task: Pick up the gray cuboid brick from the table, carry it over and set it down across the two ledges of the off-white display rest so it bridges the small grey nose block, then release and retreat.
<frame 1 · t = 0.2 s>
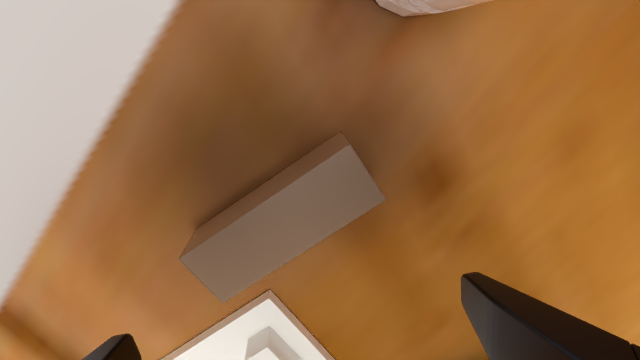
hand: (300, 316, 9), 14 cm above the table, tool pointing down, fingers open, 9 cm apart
gray cuboid brick: (283, 202, 23), on the table
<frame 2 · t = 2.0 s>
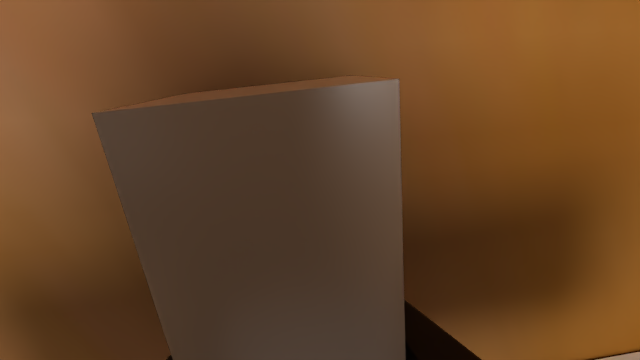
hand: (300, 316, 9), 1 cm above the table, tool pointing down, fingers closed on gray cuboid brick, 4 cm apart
gray cuboid brick: (300, 286, 10), on the table, touching gripper
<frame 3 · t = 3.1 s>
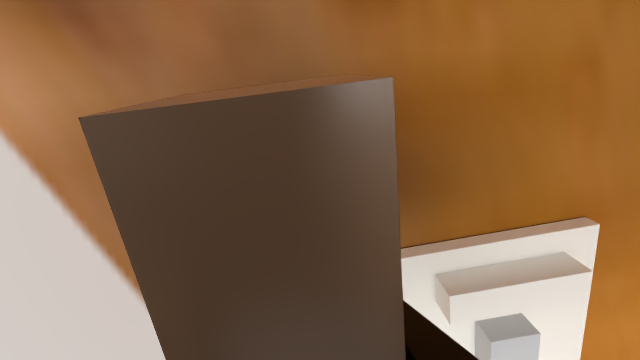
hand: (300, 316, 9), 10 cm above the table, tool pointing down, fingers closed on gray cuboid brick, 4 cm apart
gray cuboid brick: (299, 288, 10), point 9 cm above the table, touching gripper
display rest: (488, 323, 22), on the table
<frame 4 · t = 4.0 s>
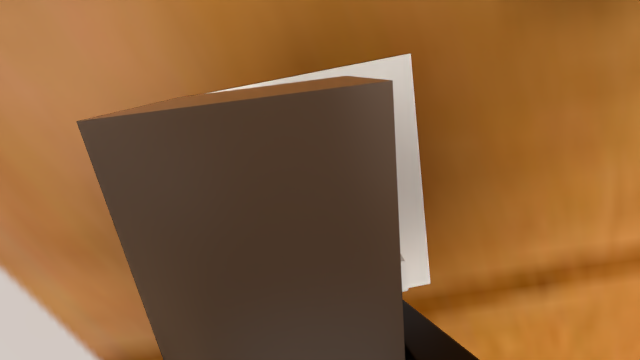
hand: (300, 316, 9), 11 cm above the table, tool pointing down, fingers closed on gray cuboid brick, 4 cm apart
gray cuboid brick: (299, 290, 10), point 10 cm above the table, touching gripper
display rest: (317, 196, 19), on the table
when the fingers open (4 cm above the table, at t = 5.4 s): gray cuboid brick stays where it is, resting on display rest.
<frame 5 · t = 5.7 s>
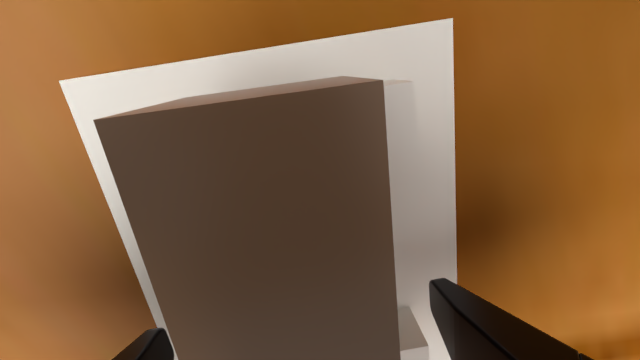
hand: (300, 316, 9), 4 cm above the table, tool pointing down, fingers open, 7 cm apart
gray cuboid brick: (300, 283, 10), point 3 cm above the table, touching display rest
display rest: (298, 236, 13), on the table
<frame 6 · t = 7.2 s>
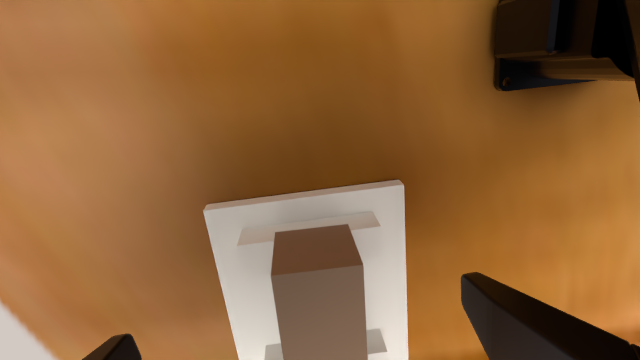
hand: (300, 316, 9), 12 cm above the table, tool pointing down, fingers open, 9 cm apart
gray cuboid brick: (320, 317, 20), point 3 cm above the table, touching display rest
display rest: (316, 285, 22), on the table
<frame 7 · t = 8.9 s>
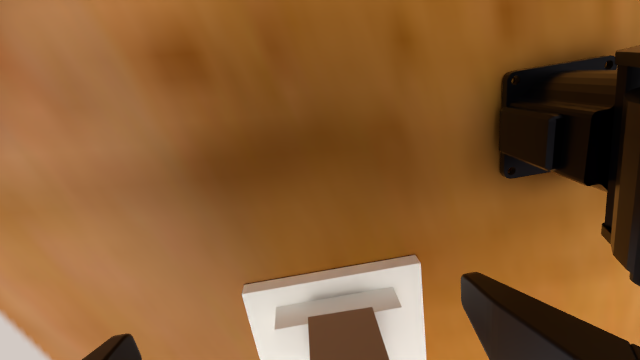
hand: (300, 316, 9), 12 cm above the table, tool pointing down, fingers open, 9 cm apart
display rest: (343, 347, 25), on the table
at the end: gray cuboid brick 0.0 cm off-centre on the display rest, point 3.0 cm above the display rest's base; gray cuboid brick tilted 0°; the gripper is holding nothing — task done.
